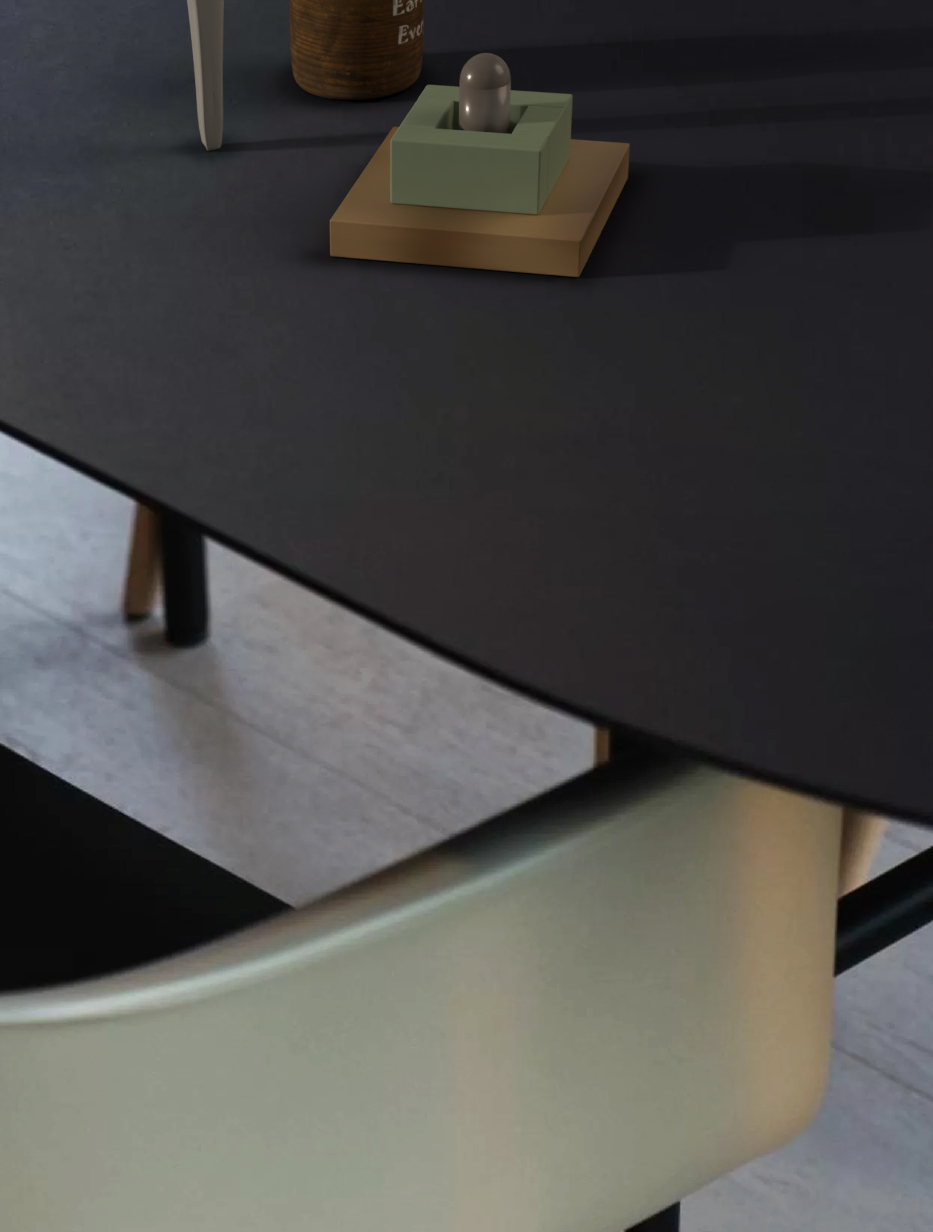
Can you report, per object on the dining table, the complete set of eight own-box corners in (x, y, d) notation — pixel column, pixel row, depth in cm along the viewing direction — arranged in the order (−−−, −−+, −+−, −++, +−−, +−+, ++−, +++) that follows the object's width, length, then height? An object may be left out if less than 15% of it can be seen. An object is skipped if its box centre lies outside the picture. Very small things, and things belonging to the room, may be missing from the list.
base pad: (628, 178, 111) (637, 18, 107) (579, 277, 104) (587, 109, 100) (393, 160, 114) (393, 3, 110) (329, 256, 107) (327, 92, 103)
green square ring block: (570, 157, 110) (572, 93, 108) (538, 215, 105) (541, 150, 104) (426, 147, 111) (426, 83, 109) (389, 203, 107) (389, 138, 105)
